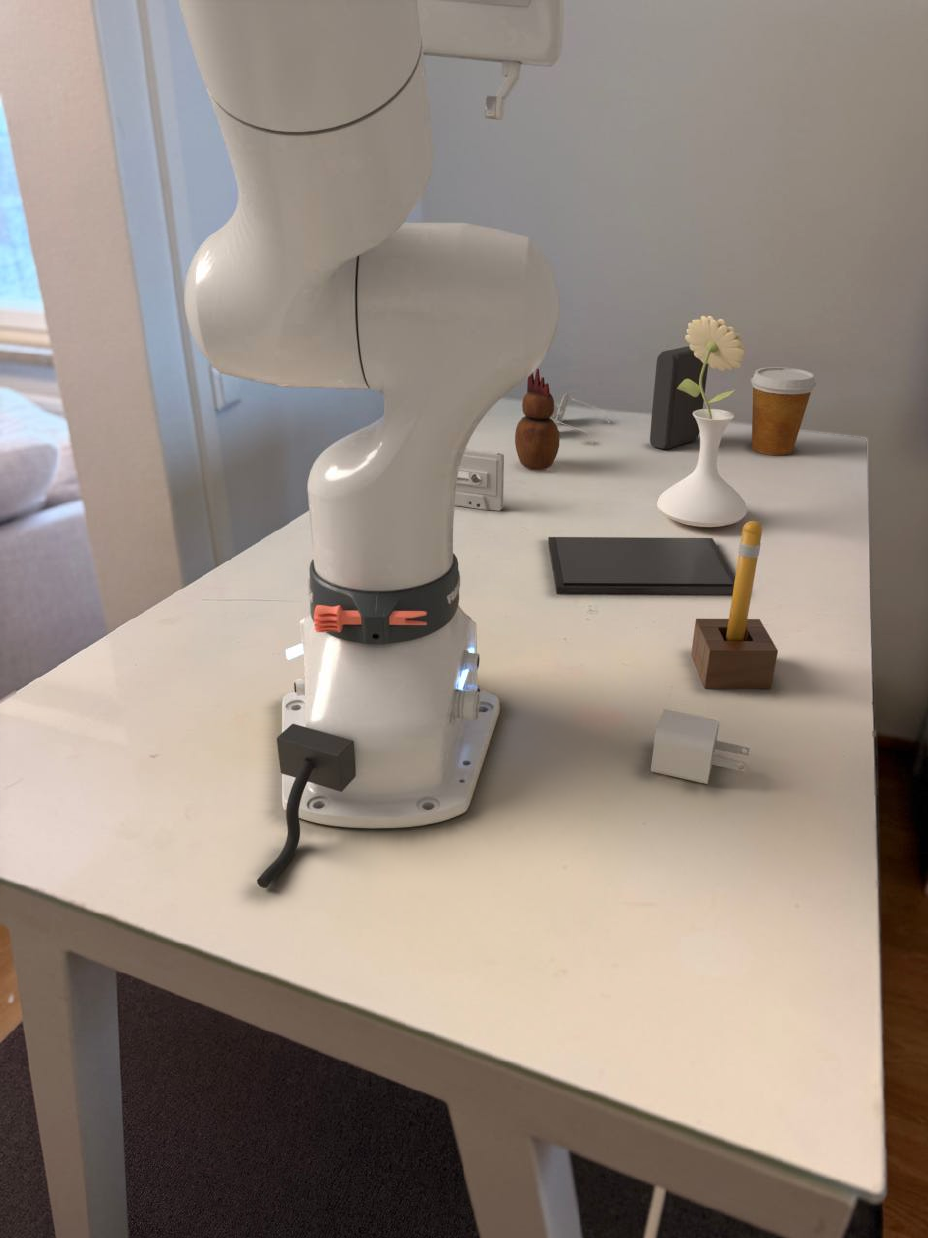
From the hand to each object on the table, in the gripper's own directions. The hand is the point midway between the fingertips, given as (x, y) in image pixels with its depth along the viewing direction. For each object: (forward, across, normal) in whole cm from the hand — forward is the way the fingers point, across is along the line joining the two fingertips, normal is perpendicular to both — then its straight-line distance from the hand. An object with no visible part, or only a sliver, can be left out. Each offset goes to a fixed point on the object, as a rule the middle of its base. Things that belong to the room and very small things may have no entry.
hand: (444, 113), depth 85 cm
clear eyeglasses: (+42, +14, +58) cm, 73 cm away
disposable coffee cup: (+40, +46, +54) cm, 81 cm away
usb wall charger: (+45, +32, -33) cm, 64 cm away
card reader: (+41, +30, +54) cm, 74 cm away
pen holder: (+44, +35, -17) cm, 59 cm away
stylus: (+44, +35, -17) cm, 59 cm away
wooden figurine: (+44, +10, +38) cm, 59 cm away
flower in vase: (+42, +33, +22) cm, 58 cm away
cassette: (+45, +2, +20) cm, 50 cm away
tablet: (+44, +26, +4) cm, 51 cm away
